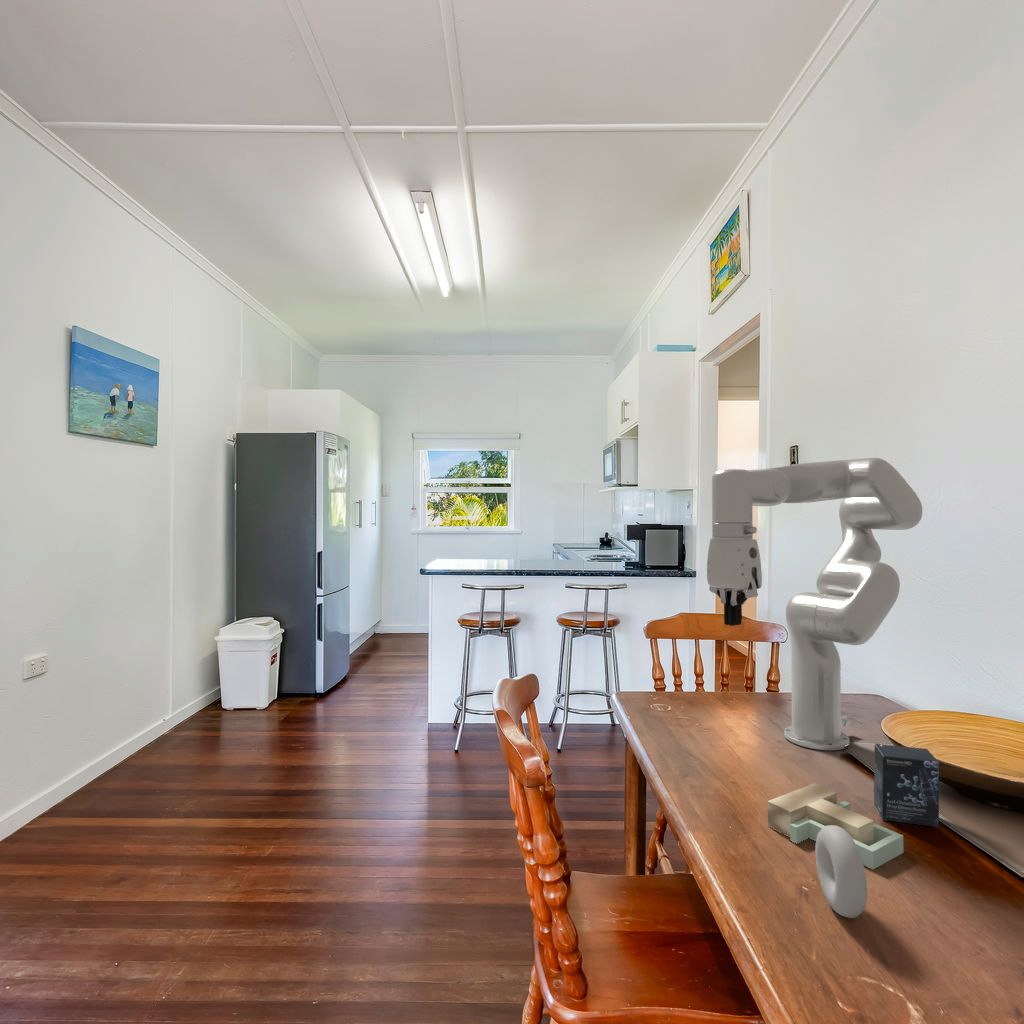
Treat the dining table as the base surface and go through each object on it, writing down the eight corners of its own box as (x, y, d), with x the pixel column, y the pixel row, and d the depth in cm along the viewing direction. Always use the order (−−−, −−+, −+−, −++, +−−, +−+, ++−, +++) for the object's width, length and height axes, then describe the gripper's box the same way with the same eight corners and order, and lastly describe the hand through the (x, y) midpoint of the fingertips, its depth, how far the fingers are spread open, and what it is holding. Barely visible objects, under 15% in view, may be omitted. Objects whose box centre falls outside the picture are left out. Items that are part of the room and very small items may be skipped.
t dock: (844, 816, 99) (843, 801, 99) (914, 846, 90) (913, 829, 90) (790, 841, 92) (790, 824, 92) (860, 876, 83) (860, 858, 83)
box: (883, 821, 97) (882, 755, 97) (873, 805, 103) (873, 742, 103) (940, 829, 95) (939, 761, 95) (927, 811, 100) (927, 747, 100)
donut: (811, 884, 81) (810, 809, 81) (838, 886, 81) (838, 810, 81) (841, 936, 71) (841, 851, 71) (873, 939, 71) (872, 853, 71)
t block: (767, 826, 96) (767, 801, 96) (814, 807, 102) (813, 783, 102) (842, 864, 86) (841, 835, 86) (888, 840, 92) (888, 813, 92)
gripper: (777, 532, 117) (778, 628, 117) (715, 530, 129) (715, 617, 129) (752, 533, 113) (752, 633, 113) (690, 531, 125) (690, 620, 125)
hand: (732, 624), depth 121 cm, fingers closed
